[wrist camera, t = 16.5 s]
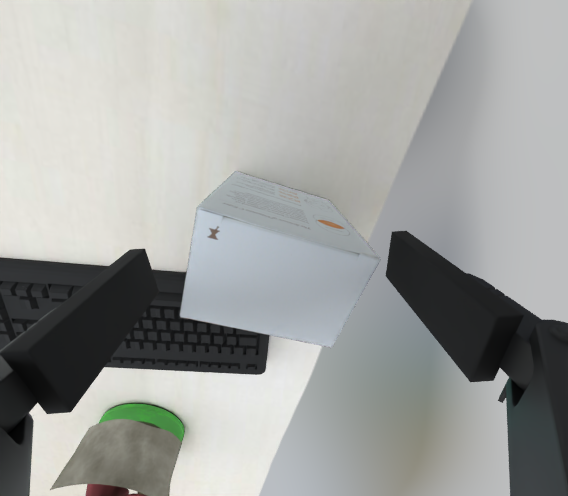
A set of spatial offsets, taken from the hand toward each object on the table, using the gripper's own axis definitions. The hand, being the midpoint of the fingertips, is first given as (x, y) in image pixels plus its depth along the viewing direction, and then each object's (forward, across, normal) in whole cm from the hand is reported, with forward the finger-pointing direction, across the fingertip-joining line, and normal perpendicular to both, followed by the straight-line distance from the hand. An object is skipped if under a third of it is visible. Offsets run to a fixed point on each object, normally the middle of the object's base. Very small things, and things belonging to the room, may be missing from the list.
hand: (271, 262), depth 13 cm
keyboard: (+8, -16, -9) cm, 20 cm away
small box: (+8, 0, 0) cm, 8 cm away
